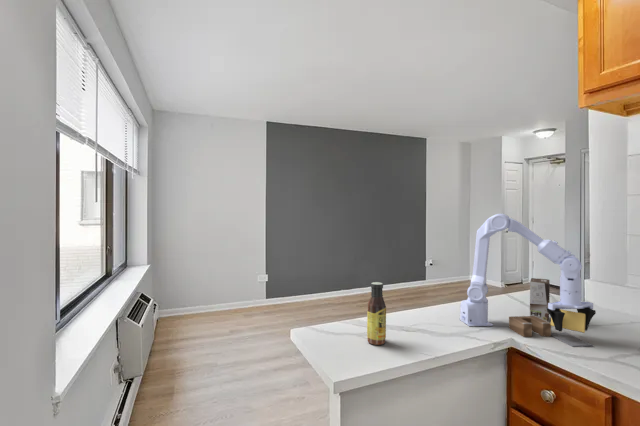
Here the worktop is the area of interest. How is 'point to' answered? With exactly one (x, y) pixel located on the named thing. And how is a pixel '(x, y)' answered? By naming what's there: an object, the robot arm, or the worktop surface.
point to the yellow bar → (573, 321)
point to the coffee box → (539, 298)
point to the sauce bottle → (376, 315)
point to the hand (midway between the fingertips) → (570, 329)
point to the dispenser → (529, 326)
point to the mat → (570, 339)
